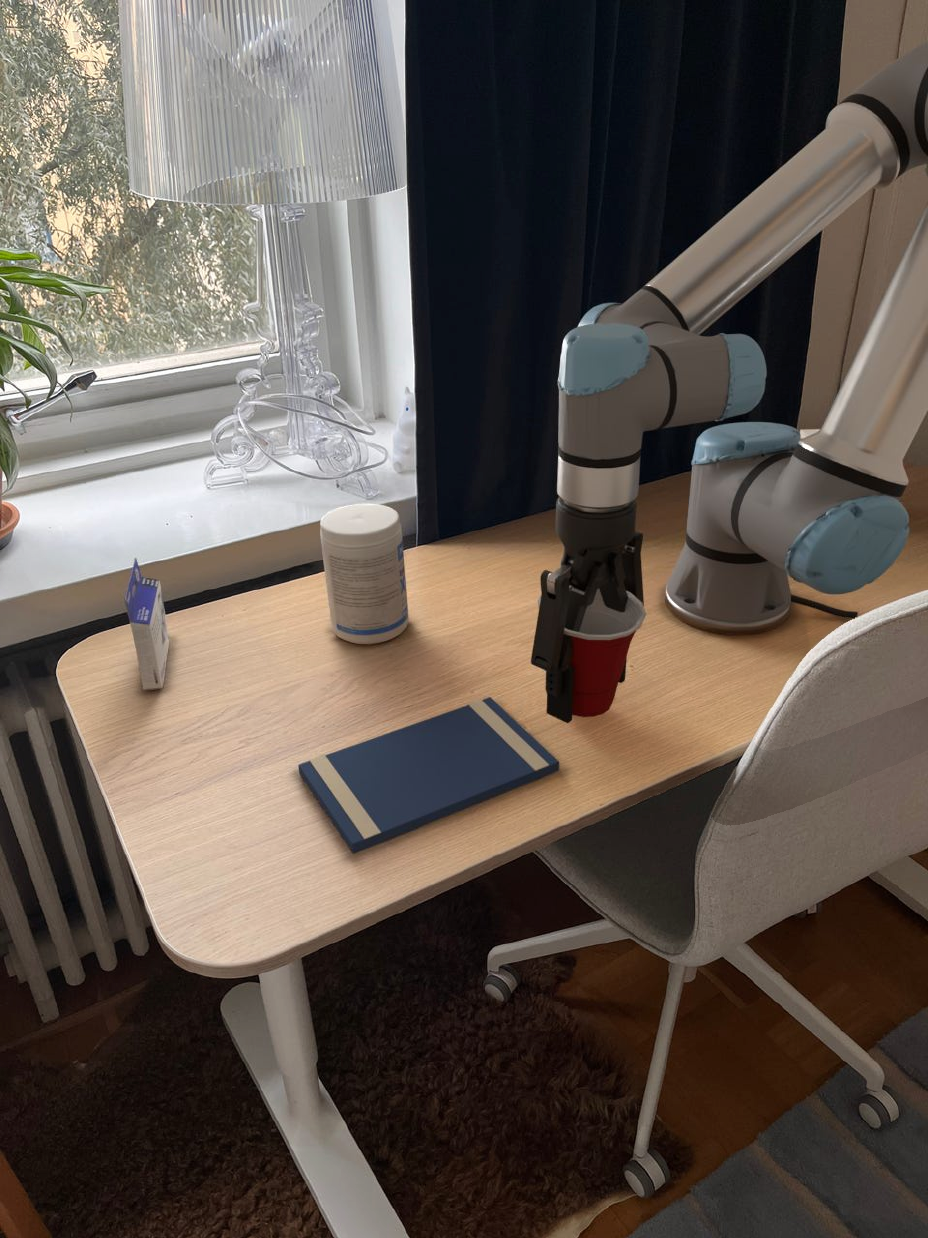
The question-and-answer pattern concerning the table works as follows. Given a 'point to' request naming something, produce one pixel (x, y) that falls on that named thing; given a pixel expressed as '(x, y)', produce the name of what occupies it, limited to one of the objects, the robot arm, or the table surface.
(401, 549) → the supplement tub
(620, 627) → the plastic cup
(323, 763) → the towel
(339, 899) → the table surface
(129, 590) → the ink box
